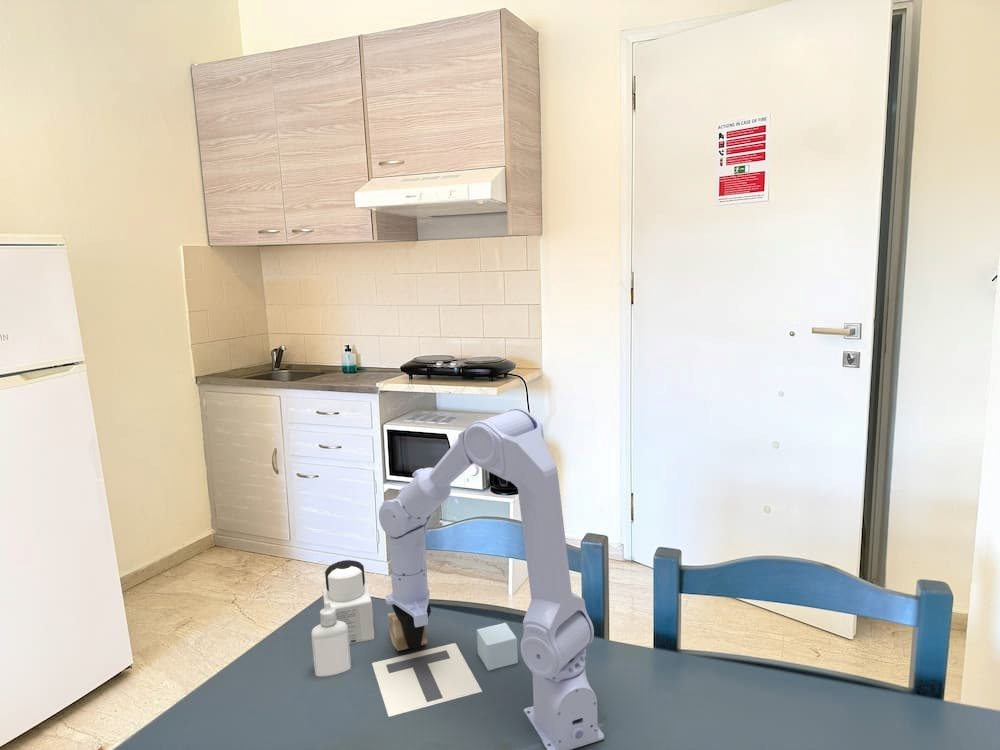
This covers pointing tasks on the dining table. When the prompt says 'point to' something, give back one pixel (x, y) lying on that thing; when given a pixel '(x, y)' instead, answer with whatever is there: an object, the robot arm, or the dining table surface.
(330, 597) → the container
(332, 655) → the eye dropper bottle
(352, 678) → the dining table surface
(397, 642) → the oak block
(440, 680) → the letter card
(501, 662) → the pale blue cube
